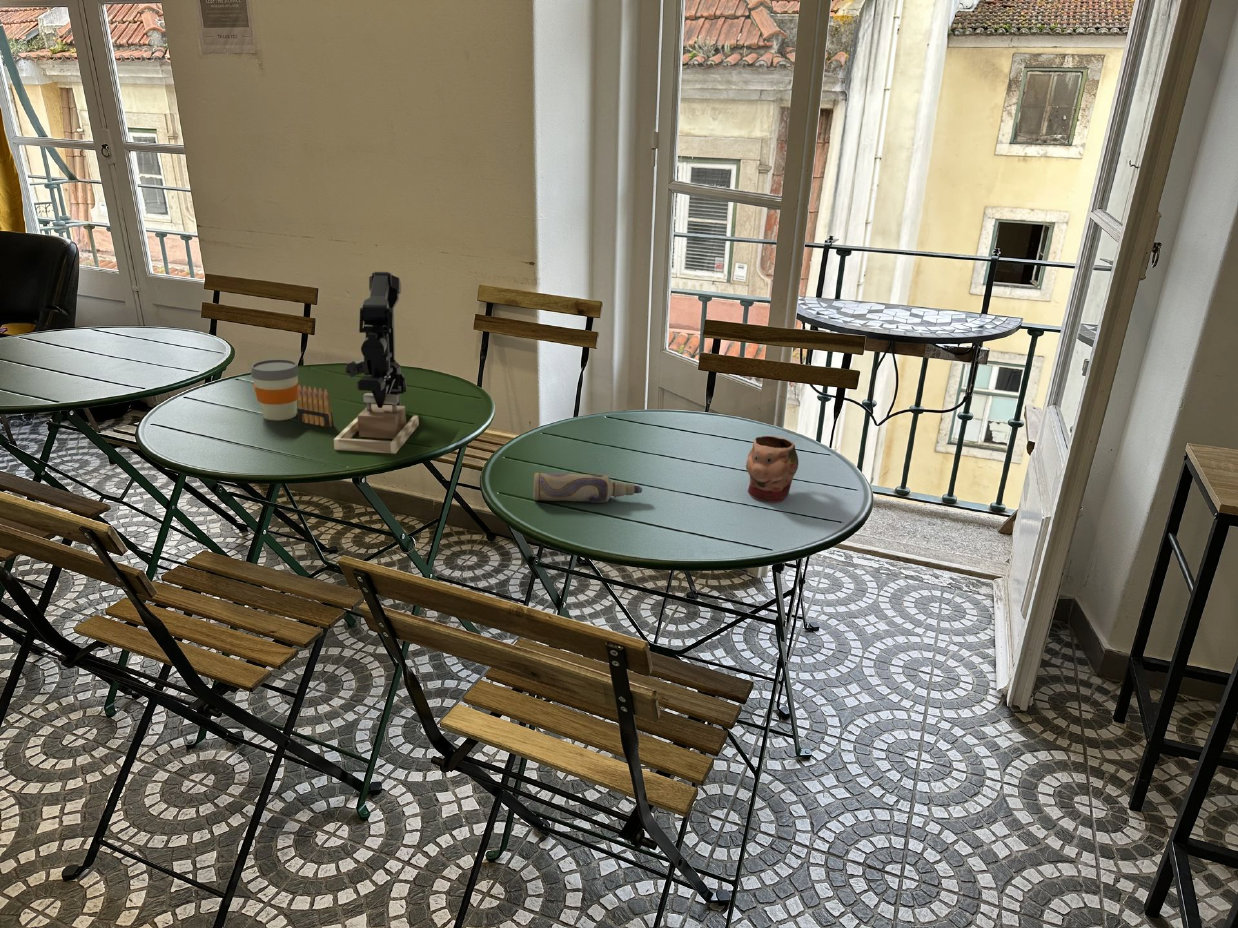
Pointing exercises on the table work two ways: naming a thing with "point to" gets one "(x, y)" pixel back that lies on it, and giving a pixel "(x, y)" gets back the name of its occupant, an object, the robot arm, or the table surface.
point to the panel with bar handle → (381, 418)
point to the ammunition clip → (313, 408)
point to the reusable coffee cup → (276, 388)
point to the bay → (347, 443)
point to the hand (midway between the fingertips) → (381, 406)
